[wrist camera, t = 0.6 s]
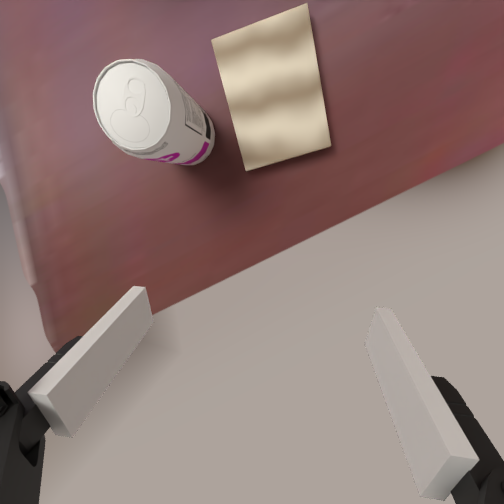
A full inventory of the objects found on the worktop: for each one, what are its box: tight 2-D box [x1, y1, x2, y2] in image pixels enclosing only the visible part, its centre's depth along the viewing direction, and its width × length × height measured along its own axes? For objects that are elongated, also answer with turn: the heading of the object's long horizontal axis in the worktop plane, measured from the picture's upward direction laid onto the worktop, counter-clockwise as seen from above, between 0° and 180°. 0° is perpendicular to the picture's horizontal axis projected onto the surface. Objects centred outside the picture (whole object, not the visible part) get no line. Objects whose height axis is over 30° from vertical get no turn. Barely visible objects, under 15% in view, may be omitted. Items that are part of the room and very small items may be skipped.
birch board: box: [211, 3, 331, 171], centre depth 32 cm, size 16×12×2 cm
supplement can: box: [93, 59, 215, 165], centre depth 28 cm, size 8×8×15 cm
